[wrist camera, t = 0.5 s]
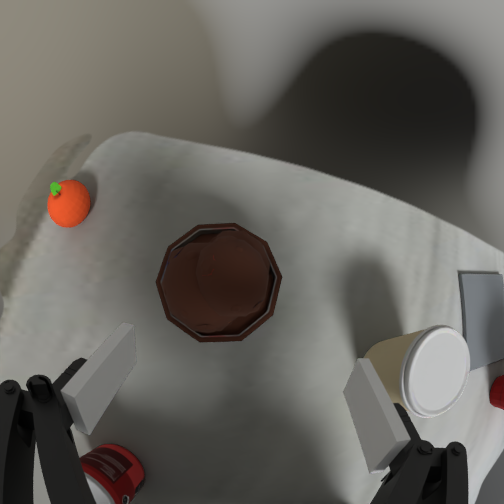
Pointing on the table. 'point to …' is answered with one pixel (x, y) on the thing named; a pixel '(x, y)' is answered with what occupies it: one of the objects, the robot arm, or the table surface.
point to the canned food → (112, 474)
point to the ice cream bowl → (218, 282)
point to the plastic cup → (497, 393)
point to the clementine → (68, 203)
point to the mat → (483, 317)
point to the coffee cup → (423, 369)
